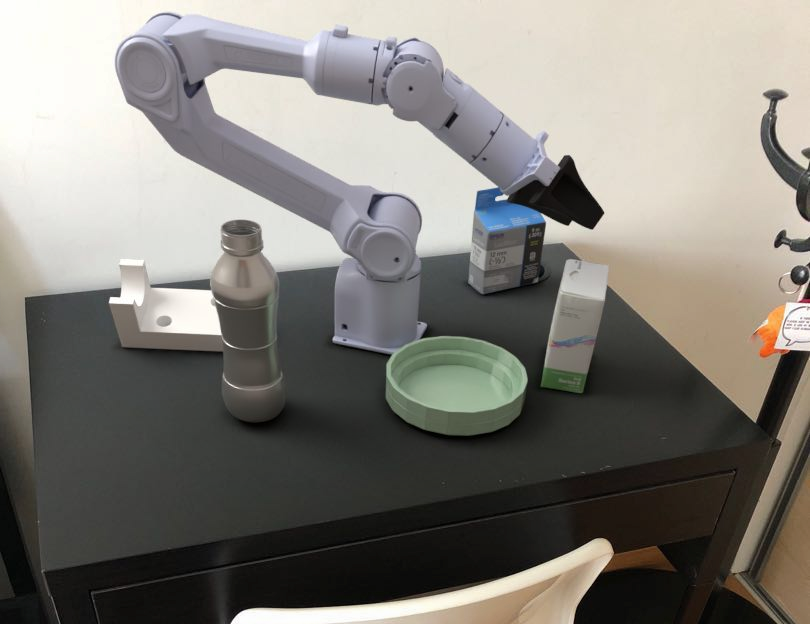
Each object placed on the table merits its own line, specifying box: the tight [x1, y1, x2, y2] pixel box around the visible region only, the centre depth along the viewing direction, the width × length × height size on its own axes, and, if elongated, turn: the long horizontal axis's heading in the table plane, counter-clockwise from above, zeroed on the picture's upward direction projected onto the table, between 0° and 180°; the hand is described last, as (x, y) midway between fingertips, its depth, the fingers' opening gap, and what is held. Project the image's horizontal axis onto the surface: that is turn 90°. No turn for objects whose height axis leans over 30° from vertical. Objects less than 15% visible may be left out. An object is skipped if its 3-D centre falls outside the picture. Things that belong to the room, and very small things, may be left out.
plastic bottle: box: [209, 219, 287, 423], centre depth 88 cm, size 6×7×20 cm
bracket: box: [108, 258, 223, 352], centre depth 103 cm, size 13×7×8 cm, turn 90°
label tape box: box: [467, 186, 547, 295], centre depth 115 cm, size 9×4×12 cm, turn 118°
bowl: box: [385, 335, 529, 436], centre depth 97 cm, size 15×15×4 cm
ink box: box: [540, 258, 610, 394], centre depth 100 cm, size 9×5×12 cm, turn 168°
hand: (585, 219), depth 96 cm, fingers open, 7 cm apart
